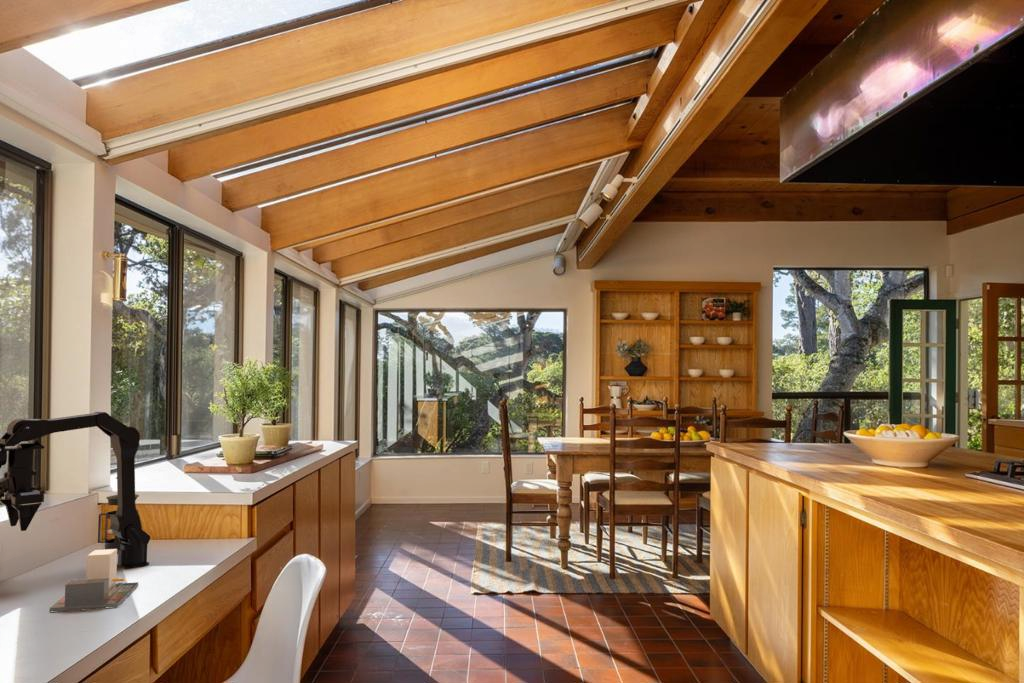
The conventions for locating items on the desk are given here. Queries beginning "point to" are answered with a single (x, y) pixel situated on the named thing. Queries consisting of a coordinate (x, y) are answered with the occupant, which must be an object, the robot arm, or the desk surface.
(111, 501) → the french press
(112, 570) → the cream box
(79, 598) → the gauge base
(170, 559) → the desk surface
